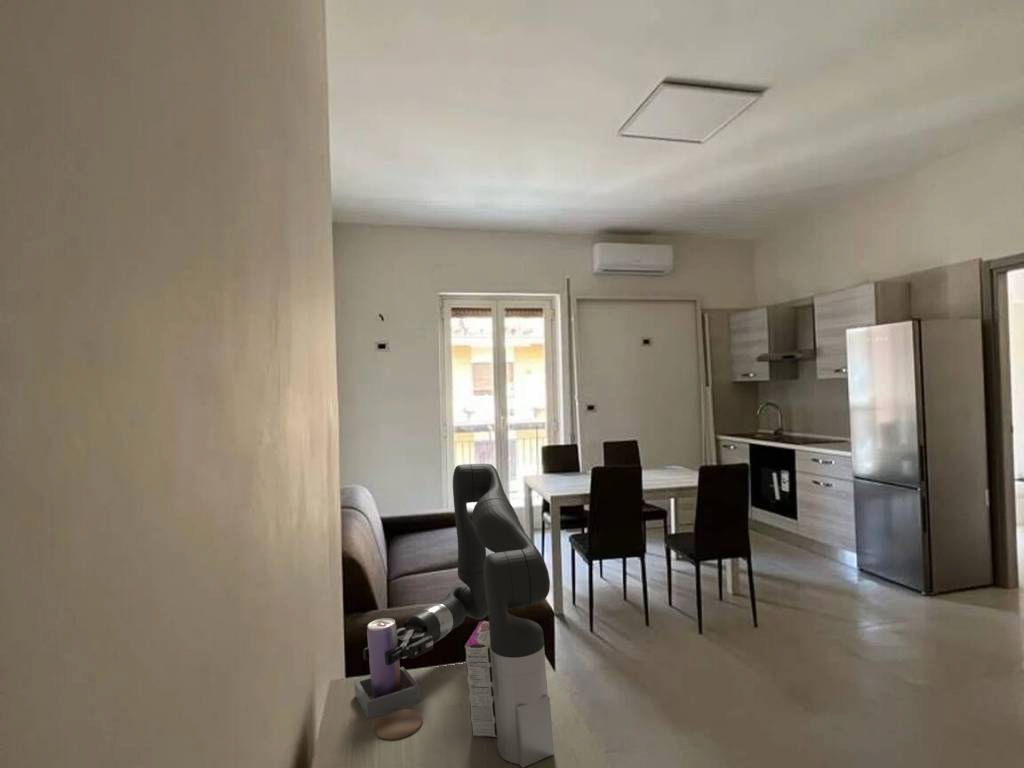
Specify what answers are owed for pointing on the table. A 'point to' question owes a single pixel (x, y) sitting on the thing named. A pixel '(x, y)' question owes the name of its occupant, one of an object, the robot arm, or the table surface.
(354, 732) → the table surface
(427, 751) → the table surface
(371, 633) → the beverage can
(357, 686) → the square frame
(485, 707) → the candy bar box
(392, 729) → the coaster
